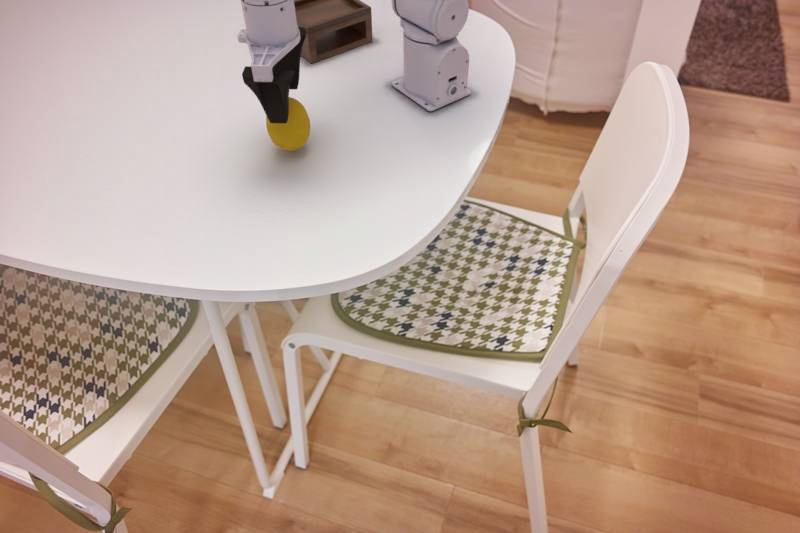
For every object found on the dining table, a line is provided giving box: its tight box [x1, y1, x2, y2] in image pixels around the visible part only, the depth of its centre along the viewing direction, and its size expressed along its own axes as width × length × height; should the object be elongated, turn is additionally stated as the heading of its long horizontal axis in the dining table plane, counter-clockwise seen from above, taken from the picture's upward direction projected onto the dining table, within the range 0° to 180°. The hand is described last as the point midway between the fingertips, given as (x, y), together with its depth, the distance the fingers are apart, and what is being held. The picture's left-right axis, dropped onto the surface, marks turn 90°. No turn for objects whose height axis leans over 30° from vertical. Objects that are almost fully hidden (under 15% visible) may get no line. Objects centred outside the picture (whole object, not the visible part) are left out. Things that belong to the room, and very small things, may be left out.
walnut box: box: [294, 0, 374, 65], centre depth 100 cm, size 10×12×6 cm
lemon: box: [265, 96, 311, 152], centre depth 79 cm, size 6×6×8 cm
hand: (284, 104), depth 76 cm, fingers open, 7 cm apart
